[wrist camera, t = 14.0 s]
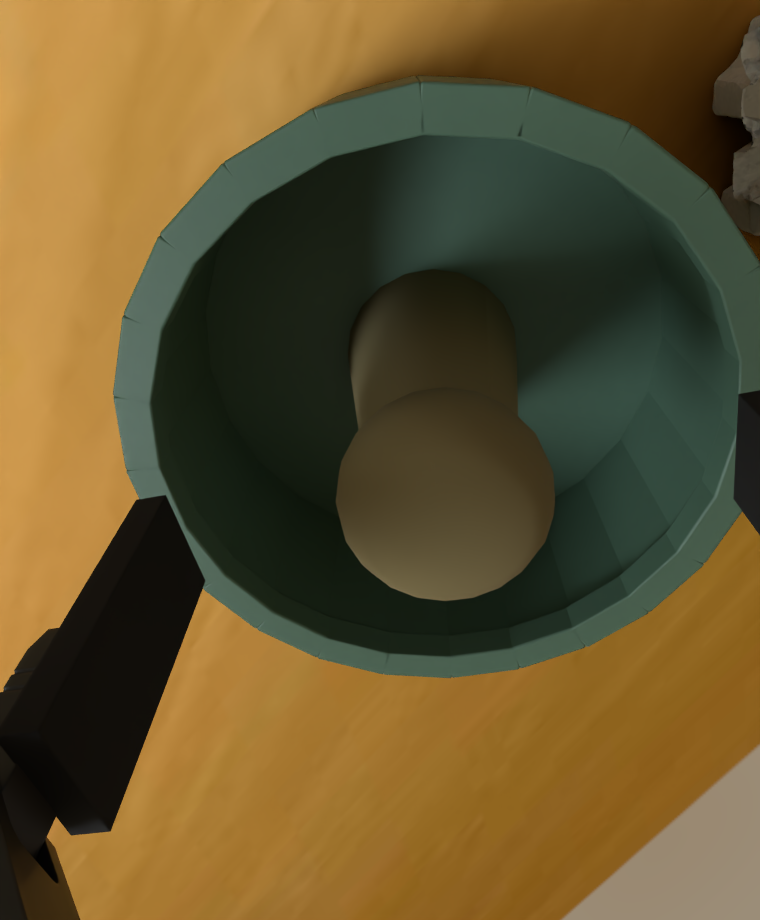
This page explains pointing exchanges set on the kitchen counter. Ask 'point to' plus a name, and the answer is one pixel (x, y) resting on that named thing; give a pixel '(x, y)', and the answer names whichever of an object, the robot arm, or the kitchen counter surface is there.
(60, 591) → the kitchen counter surface
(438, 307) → the cork
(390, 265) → the green round bowl
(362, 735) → the kitchen counter surface
